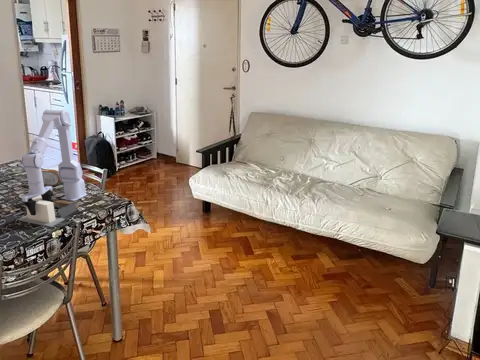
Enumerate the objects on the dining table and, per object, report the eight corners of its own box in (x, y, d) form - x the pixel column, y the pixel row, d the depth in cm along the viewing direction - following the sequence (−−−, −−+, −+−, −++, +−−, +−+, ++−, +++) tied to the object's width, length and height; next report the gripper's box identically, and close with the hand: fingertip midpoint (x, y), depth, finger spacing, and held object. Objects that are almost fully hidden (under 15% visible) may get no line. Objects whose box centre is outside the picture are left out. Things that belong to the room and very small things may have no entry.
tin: (63, 184, 235) (60, 169, 232) (60, 186, 232) (57, 171, 229) (35, 183, 236) (33, 168, 233) (32, 185, 233) (30, 170, 230)
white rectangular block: (34, 215, 196) (31, 198, 193) (55, 219, 191) (53, 202, 189) (27, 218, 193) (25, 201, 190) (49, 222, 188) (46, 205, 186)
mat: (33, 213, 199) (32, 212, 199) (64, 219, 192) (64, 218, 192) (18, 220, 192) (18, 219, 192) (50, 227, 185) (50, 226, 185)
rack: (46, 205, 208) (45, 197, 207) (76, 210, 202) (75, 202, 200) (30, 212, 200) (29, 204, 198) (61, 218, 194) (60, 210, 192)
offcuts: (56, 202, 210) (55, 198, 210) (78, 207, 206) (78, 203, 205) (51, 205, 208) (51, 201, 207) (73, 209, 203) (73, 205, 202)
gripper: (41, 175, 194) (46, 204, 199) (14, 185, 181) (19, 216, 186) (54, 177, 192) (58, 206, 196) (27, 188, 179) (32, 219, 183)
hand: (40, 211), depth 191 cm, fingers open, 7 cm apart
